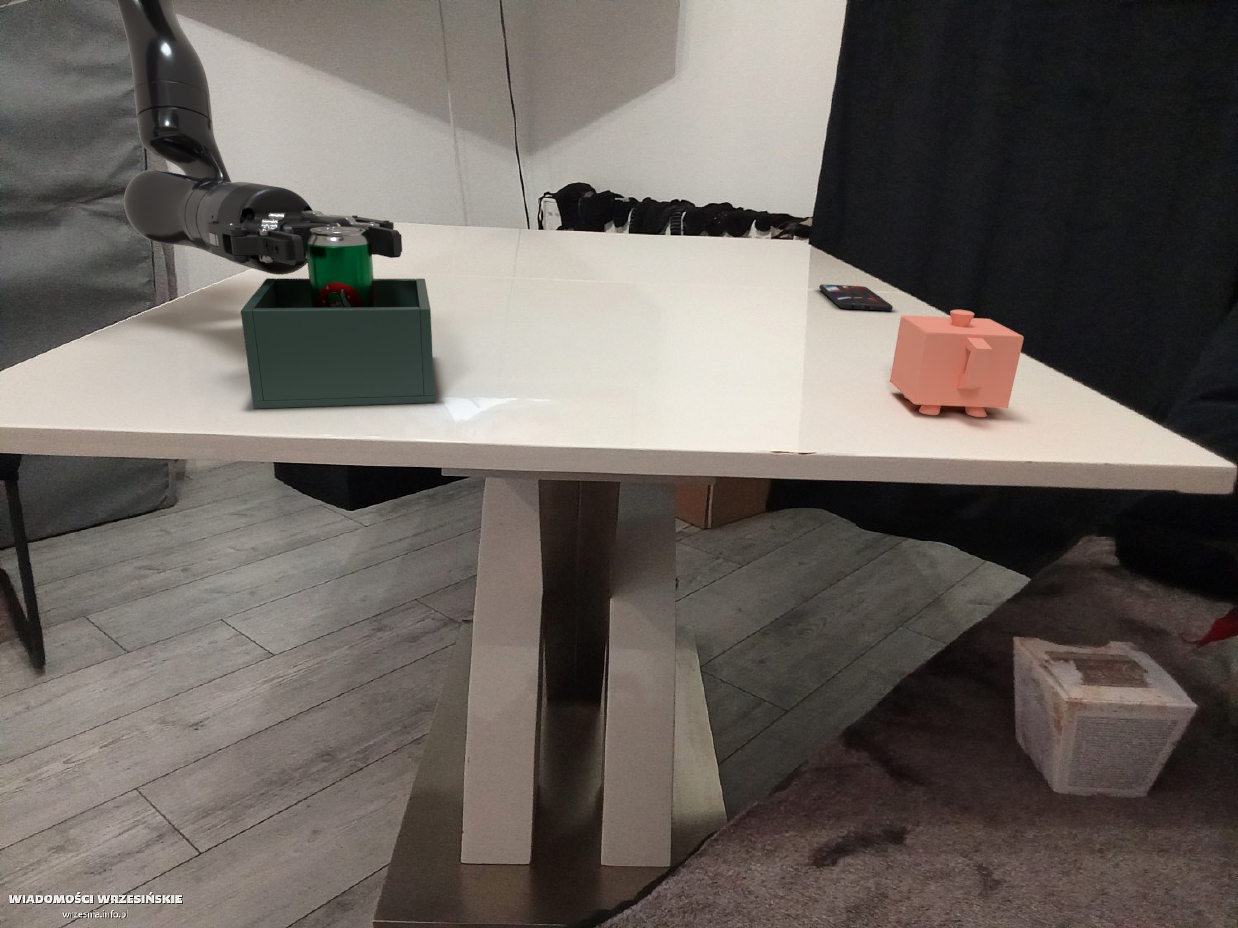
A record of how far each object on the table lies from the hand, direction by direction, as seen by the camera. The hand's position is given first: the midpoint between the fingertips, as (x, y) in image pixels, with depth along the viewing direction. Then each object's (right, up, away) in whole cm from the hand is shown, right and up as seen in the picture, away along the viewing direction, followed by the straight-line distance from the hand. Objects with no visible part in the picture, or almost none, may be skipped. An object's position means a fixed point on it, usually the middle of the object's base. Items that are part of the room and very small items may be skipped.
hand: (350, 248), depth 66 cm
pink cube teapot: (+50, -12, +7) cm, 51 cm away
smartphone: (+55, +6, +52) cm, 75 cm away
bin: (-2, -10, +6) cm, 12 cm away
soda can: (-2, -10, +6) cm, 11 cm away
